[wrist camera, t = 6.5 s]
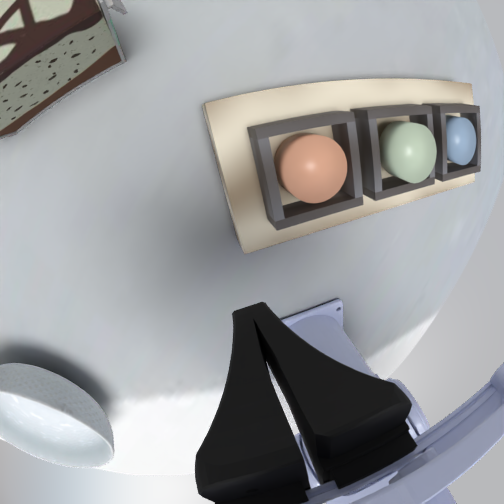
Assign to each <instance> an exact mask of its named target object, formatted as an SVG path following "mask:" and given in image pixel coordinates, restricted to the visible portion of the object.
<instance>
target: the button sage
mask: <svg viewBox="0 0 504 504" xmlns="http://www.w3.org/2000/svg"><path fill="white" fill-rule="evenodd" d="M379 149H380V161H381V164H382V166H383V168H384V169H385V170H386V171H387V172H388V173H389V174H391V175H393V176H395V177H398V178H400V179H403V180H405V181H407V182H410V183H419V182H421V181H423V180H425V179H426V178H427V177H428V176H429V174H430V173H431V171H432V169H433V167H434V165H435V161H436V152H437V150H436V143H435V139H434V137H433V135H432V133H431V131H430V130H429V129H428V128H427V127H426V126H424V125H422V124H417V123H412V122H406V121H394V122H392V123H390V124H389V125H388V126H387V127H386V128H385V129H384V130H383V132H382V134H381V137H380V140H379Z"/></svg>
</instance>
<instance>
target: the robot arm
mask: <svg viewBox="0 0 504 504" xmlns="http://www.w3.org/2000/svg"><path fill="white" fill-rule="evenodd" d="M338 307H339V308H338ZM337 308H338V309H337ZM232 316H233V344H232V354H231V360H230V366H229V372H228V376H227V381H226V384H225V388H224V392H223V395H222V398H221V401H220V404H219V407H218V410H217V412H216V415H215V417H214V420H213V422H212V424H211V427H210V429H209V431H208V433H207V435H206V437H205V439H204V441H203V443H202V445H201V446H200V448H199V450H198V452H197V454H196V460H195V478H196V484H197V489H198V493H199V494H200V495H201V496H202V497H204V498H206V499H208V500H211V501H213V502H215V504H322V503H326V504H457V503H456V501H455V500H454V498H453V496H452V495H451V493H450V491H449V490H448V488H447V487H448V486H449V485H450V484H451V483H453V482H454V481H456V480H457V479H458V478H459V477H460V476H461V475H463V474H464V473H465V472H466V471H467V470H469V469H470V468H471V467H472V466H473V465H474V464H476V463H477V462H478V461H479V460H480V459H481V458H482V457H483V456H484V455H485V454H486V453H487V452H488V451H489V450H490V449H491V448H492V447H493V446H494V445H495V444H496V443H497V442H498V441H499V440H500V439H501V438H502V437H503V436H504V363H503V364H502V365H501V366H500V367H499V368H498V369H497V370H496V371H495V373H494V374H493V376H492V377H491V379H490V381H489V382H488V383H487V384H486V385H485V386H484V387H483V388H482V389H480V390H479V391H478V392H477V393H476V394H474V395H473V396H472V397H471V398H470V399H468V400H467V401H466V402H465V403H464V404H462V405H461V406H460V407H459V408H457V409H456V410H455V411H453V412H452V413H451V414H449V415H448V416H447V417H445V418H444V419H443V420H441V421H440V422H438V423H437V424H436V425H434V426H433V427H431V428H430V426H429V423H428V421H427V419H426V417H425V415H424V413H423V411H422V410H421V408H420V406H419V405H418V403H417V402H416V400H415V399H414V397H413V396H412V394H411V393H410V392H409V391H408V389H407V388H406V387H405V385H404V384H402V382H401V381H399V380H395V379H392V378H388V379H387V380H382V379H380V378H379V377H378V375H377V374H374V373H373V372H372V370H371V369H370V367H369V366H368V365H367V363H366V362H365V360H364V359H363V357H362V356H361V354H360V353H359V352H358V350H357V349H356V347H355V346H354V344H353V343H352V342H351V340H350V339H349V337H348V336H347V334H346V333H345V332H344V330H343V302H342V301H341V300H340V299H337V300H334V301H332V302H329V303H327V304H324V305H321V306H319V307H316V308H313V309H311V310H308V311H305V312H303V313H300V314H297V315H294V316H292V317H289V318H286V319H283V320H280V319H279V318H278V317H277V316H276V315H275V314H274V313H273V312H272V311H271V309H270V308H269V307H268V306H267V304H266V303H264V302H260V303H257V304H254V305H251V306H248V307H245V308H242V309H239V310H236V311H234V312H233V313H232ZM266 361H267V363H268V365H269V367H270V369H271V371H272V373H273V375H274V377H275V379H276V381H277V383H278V385H279V387H280V389H281V391H282V393H283V395H284V396H285V398H286V400H287V403H288V405H289V407H290V409H291V412H292V414H293V417H294V419H295V422H296V424H297V427H298V429H299V432H300V433H298V434H296V435H295V436H294V435H293V432H292V430H291V428H290V425H289V423H288V421H287V418H286V416H285V413H284V411H283V409H282V406H281V404H280V401H279V399H278V397H277V394H276V392H275V389H274V387H273V384H272V382H271V378H270V374H269V370H268V366H267V363H266Z"/></svg>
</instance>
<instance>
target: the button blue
mask: <svg viewBox="0 0 504 504" xmlns="http://www.w3.org/2000/svg"><path fill="white" fill-rule="evenodd" d="M445 116H446V132H447V160H448V161H451V162H454V163H457V164H460V165H466V164H468V163H469V162H470V161H471V159H472V157H473V155H474V152H475V148H476V133H475V129H474V127H473V125H472V123H471V122H470V121H469V120H468V119H466V118H462V117H457V116H452V115H445Z"/></svg>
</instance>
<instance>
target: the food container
mask: <svg viewBox="0 0 504 504" xmlns="http://www.w3.org/2000/svg"><path fill="white" fill-rule="evenodd" d="M110 8H113V9H114V10H116V11H118V12H120V13H122V14H123V15H124V14H126V13H127V11H126V9H125V7H124V6H123V4H122V2H121V0H0V139H2V138H5V137H8V136H11V135H15V134H17V133H18V132H19V131H21V130H22V129H23V128H24V127H25V126H27V125H28V124H29V123H30V122H32V121H33V120H34V119H35V118H37V117H38V116H39V115H41V114H42V113H43V112H45V111H46V110H47V109H49V108H50V107H52V106H53V105H54V104H56V103H57V102H59V101H60V100H62V99H63V98H65V97H66V96H68V95H69V94H71V93H72V92H74V91H75V90H77V89H79V88H80V87H82V86H83V85H85V84H87V83H88V82H90V81H92V80H93V79H95V78H97V77H99V76H100V75H102V74H104V73H106V72H108V71H109V70H111V69H113V68H115V67H117V66H119V65H121V64H123V63H125V62H126V60H125V57H124V54H123V52H122V49H121V46H120V43H119V40H118V37H117V35H116V32H115V29H114V26H113V23H112V20H111V17H110V14H109V11H108V9H110Z"/></svg>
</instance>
